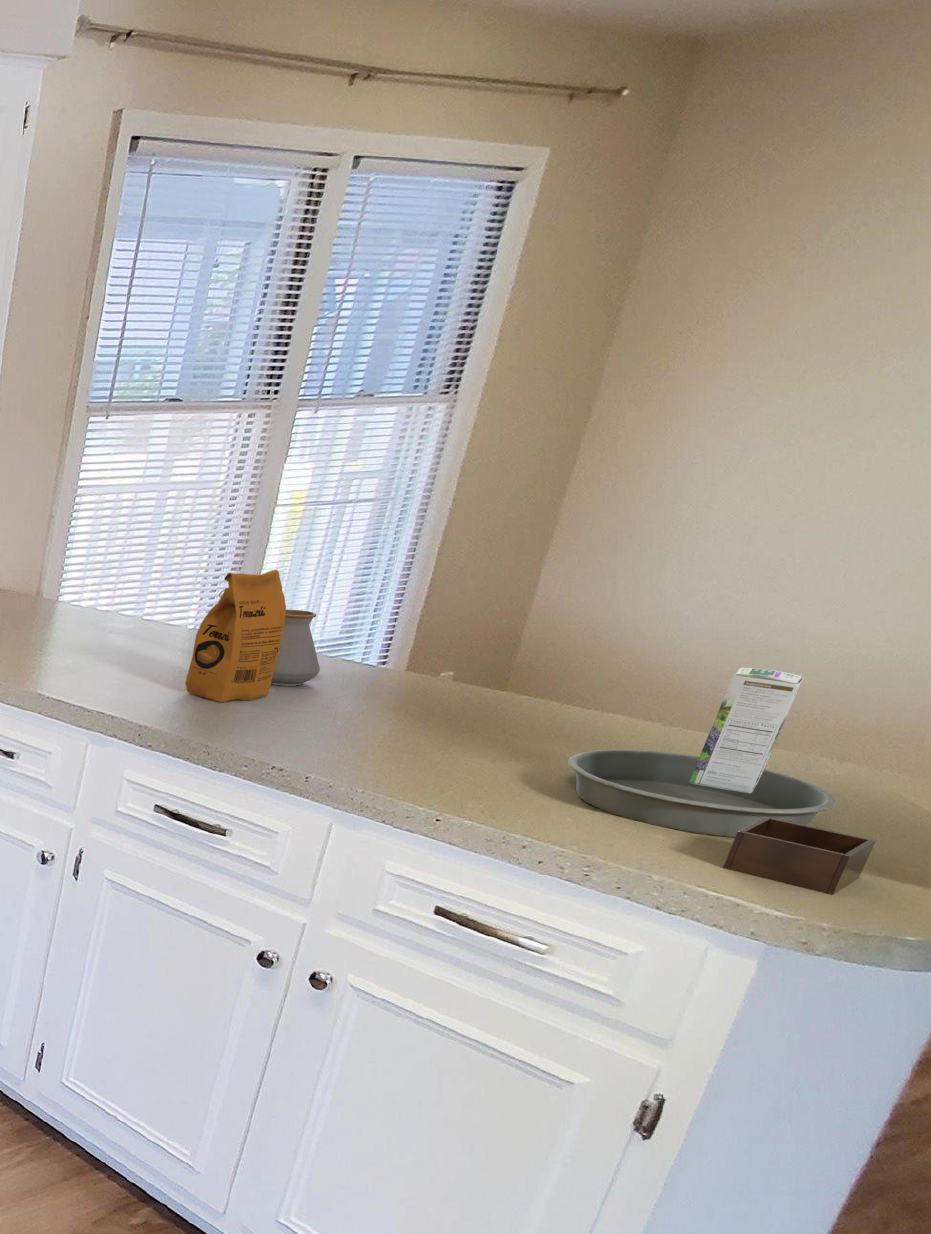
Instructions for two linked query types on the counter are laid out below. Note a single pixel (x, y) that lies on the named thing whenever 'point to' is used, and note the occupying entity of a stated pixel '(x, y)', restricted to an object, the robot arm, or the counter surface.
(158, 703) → the counter surface
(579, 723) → the counter surface
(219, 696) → the coffee package
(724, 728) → the syrup box
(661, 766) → the cake pan
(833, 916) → the counter surface
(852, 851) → the caddy
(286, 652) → the coffee pot
